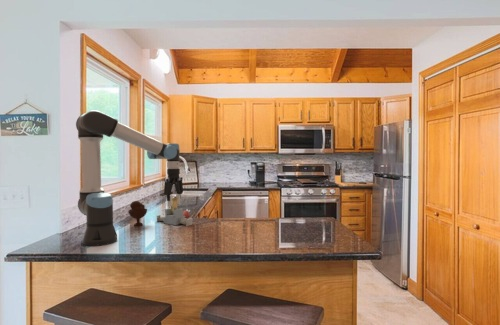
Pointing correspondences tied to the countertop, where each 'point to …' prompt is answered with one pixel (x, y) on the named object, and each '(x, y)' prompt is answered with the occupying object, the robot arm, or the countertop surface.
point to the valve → (176, 217)
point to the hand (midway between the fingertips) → (174, 205)
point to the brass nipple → (173, 204)
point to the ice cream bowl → (137, 211)
